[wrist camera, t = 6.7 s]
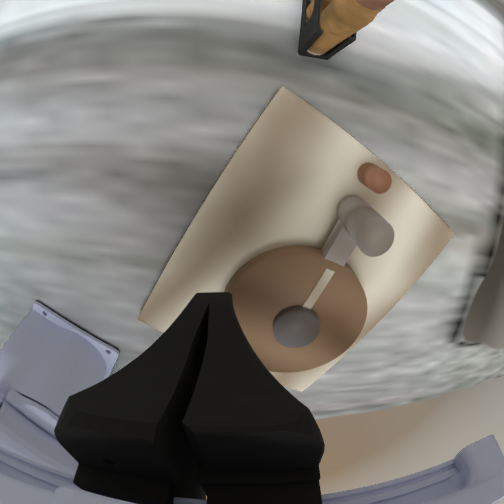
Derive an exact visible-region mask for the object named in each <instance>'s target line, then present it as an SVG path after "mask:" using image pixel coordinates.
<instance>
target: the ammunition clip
mask: <svg viewBox="0 0 504 504" xmlns="http://www.w3.org/2000/svg"><path fill="white" fill-rule="evenodd" d="M393 1H394V0H303V5H302V16H301V27H300V37H299V48H298V53H299V55H303V56H309V57H315V58H320V59H326V60H328V59H329V58H330V57H332V56H333V55H334V54H336V53H337V52H339V51H340V50H342V49H343V48H345V47H346V46H348V45H349V44H351V43H352V42H354V41H355V40H356V32H357V31H358V30H360V29H362V28H363V27H365V26H366V25H368V24H369V23H370V22H372V21H373V20H374V18H375V16H376V15H377V13H379V12H380V11H381V10H383V9H384V8H385V6H387V5H388V4H390V3H391V2H393Z"/></svg>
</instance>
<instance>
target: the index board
mask: <svg viewBox="0 0 504 504" xmlns="http://www.w3.org/2000/svg"><path fill="white" fill-rule="evenodd" d="M350 196H358V197H360V198H362V199H363V200H364V201H365V202H367V203H368V204H369V205H370V206H371V207H372V208H373V209H374V210H375V211H376V212H378V213H379V214H380V215H381V216H382V217H383V218H384V219H385V220H386V221H387V222H388V223H389V224H390V225H391V226H392V228H393V230H394V241H393V244H392V246H391V247H390V249H389V250H388V251H387V252H386V253H384V254H382V255H380V256H377V257H370V256H367V255H365V254H364V253H362V251H361V250H360V249H359V247H358V246H356V247H355V249H354V250H353V252H352V254H351V255H350V257H349V259H348V260H347V262H346V263H347V264H348V265H349V266H350V267H351V269H352V270H353V271H354V273H355V275H356V276H357V278H358V280H359V282H360V283H361V285H362V287H363V289H364V292H365V295H366V298H367V317H366V321H365V324H364V327H363V329H362V331H361V333H360V335H359V336H358V338H357V339H356V340H355V342H354V343H353V344H352V345H351V346H350V347H349V348H348V349H347V350H346V351H345V352H344V353H343V354H341V355H340V356H338V357H337V358H335V359H334V360H332V361H330V362H328V363H326V364H324V365H322V366H319V367H316V368H314V369H310V370H306V371H300V372H291V373H280V372H271V371H269V372H270V373H271V374H272V375H273V376H274V377H275V378H276V380H277V381H278V382H279V383H280V384H281V385H284V386H286V387H289V388H292V389H295V390H297V391H300V392H302V391H304V390H305V389H306V388H307V387H309V386H310V385H311V384H312V383H313V382H314V381H316V380H317V379H318V378H319V377H320V376H322V375H323V374H324V373H325V372H326V371H327V370H328V369H330V368H331V367H332V366H333V365H334V364H335V363H336V362H337V361H339V360H340V359H341V358H342V357H343V356H344V355H345V354H346V353H347V352H348V351H349V350H350V349H352V348H353V347H354V346H355V345H356V344H357V343H358V342H359V341H360V340H361V339H362V338H363V337H364V336H365V335H366V334H367V333H368V332H369V331H370V330H371V329H372V328H373V327H374V326H375V325H376V324H377V323H378V322H379V321H380V320H381V319H382V318H383V317H384V316H385V315H386V314H387V313H388V312H389V311H390V310H391V309H392V308H393V307H394V305H395V304H396V303H397V302H398V301H399V300H400V299H401V298H402V297H403V296H404V295H405V294H406V292H407V291H408V290H409V289H410V288H411V287H412V286H413V285H414V283H415V282H416V281H417V280H418V279H419V278H420V277H421V275H422V274H423V273H424V272H425V271H426V269H427V268H428V267H429V266H430V265H431V263H432V262H433V261H434V260H435V259H436V257H437V256H438V255H439V254H440V252H441V251H442V250H443V249H444V247H445V246H446V245H447V244H448V242H449V241H450V240H451V238H452V237H453V236H454V233H453V232H452V231H451V230H450V229H449V228H448V226H447V225H446V224H445V223H444V222H443V221H442V220H441V219H440V218H439V217H438V216H437V215H436V214H435V212H434V211H433V210H432V209H431V208H430V207H429V206H428V205H427V204H426V203H425V202H424V201H423V200H422V199H421V198H420V197H419V196H418V195H417V194H416V193H415V192H414V191H413V190H412V189H411V188H410V187H409V186H408V185H407V184H405V183H404V182H403V181H402V180H401V179H400V178H399V177H398V176H397V175H396V174H395V173H394V172H393V171H391V170H390V169H389V168H388V167H387V166H386V165H385V164H384V163H383V162H381V161H380V160H379V159H378V158H377V157H376V156H375V155H373V154H372V153H371V152H370V151H369V150H367V149H366V148H365V147H364V146H363V145H362V144H360V143H359V142H358V141H357V140H355V139H354V138H353V137H352V136H350V135H349V134H348V133H347V132H345V131H344V130H343V129H342V128H340V127H339V126H338V125H336V124H335V123H334V122H333V121H331V120H330V119H329V118H327V117H326V116H325V115H323V114H322V113H320V112H319V111H318V110H316V109H315V108H314V107H312V106H311V105H309V104H308V103H307V102H305V101H304V100H302V99H301V98H299V97H298V96H296V95H295V94H293V93H292V92H290V91H289V90H287V89H286V88H284V87H283V86H281V87H280V88H279V90H278V91H277V93H276V94H275V95H274V97H273V98H272V100H271V101H270V102H269V104H268V105H267V107H266V108H265V109H264V111H263V112H262V114H261V115H260V117H259V118H258V119H257V121H256V122H255V124H254V125H253V127H252V128H251V130H250V131H249V133H248V134H247V135H246V137H245V138H244V140H243V141H242V143H241V144H240V146H239V147H238V149H237V150H236V152H235V153H234V155H233V156H232V158H231V160H230V161H229V163H228V164H227V166H226V167H225V169H224V170H223V172H222V173H221V175H220V177H219V178H218V180H217V181H216V183H215V184H214V186H213V188H212V189H211V191H210V192H209V194H208V196H207V197H206V199H205V200H204V202H203V204H202V205H201V207H200V209H199V210H198V212H197V213H196V215H195V217H194V218H193V220H192V222H191V223H190V225H189V227H188V228H187V230H186V232H185V233H184V235H183V237H182V239H181V240H180V242H179V244H178V245H177V247H176V249H175V251H174V252H173V254H172V256H171V258H170V259H169V261H168V263H167V265H166V266H165V268H164V270H163V272H162V274H161V275H160V277H159V279H158V281H157V283H156V284H155V286H154V288H153V290H152V292H151V294H150V295H149V297H148V299H147V301H146V303H145V305H144V307H143V309H142V310H141V312H140V315H139V317H138V320H140V321H142V322H144V323H146V324H147V325H149V326H151V327H153V328H155V329H157V330H159V331H161V332H163V333H164V332H165V331H166V330H167V329H168V328H169V327H170V326H171V324H172V323H173V322H174V321H175V320H176V318H177V317H178V316H179V315H180V314H181V312H182V311H183V310H184V308H185V307H186V306H187V304H188V303H189V302H190V300H191V299H192V298H193V296H194V295H195V294H196V293H204V292H224V291H225V288H226V286H227V284H228V282H229V281H230V279H231V278H232V276H233V275H234V274H235V273H236V271H237V270H238V269H239V268H241V267H242V266H243V265H244V264H245V263H247V262H248V261H249V260H251V259H252V258H254V257H256V256H258V255H259V254H262V253H264V252H266V251H269V250H272V249H276V248H279V247H285V246H297V245H302V246H312V247H317V248H321V249H322V248H323V246H324V245H325V243H326V241H327V240H328V238H329V236H330V234H331V232H332V231H333V229H334V227H335V225H336V224H337V222H338V220H339V219H338V216H337V210H338V207H339V205H340V203H341V202H342V201H343V200H344V199H345V198H347V197H350Z"/></svg>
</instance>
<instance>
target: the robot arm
mask: <svg viewBox="0 0 504 504" xmlns="http://www.w3.org/2000/svg"><path fill="white" fill-rule="evenodd" d="M118 356H119V351H118V350H117V349H115V348H113V347H111V346H110V345H108V344H106V343H104V342H102V341H101V340H99V339H97V338H95V337H93V336H92V335H90V334H88V333H87V332H85V331H83V330H82V329H80V328H78V327H77V326H75V325H73V324H72V323H70V322H68V321H67V320H65V319H64V318H62V317H60V316H59V315H57V314H56V313H54V312H53V311H51V310H50V309H48V308H47V307H45V306H44V305H42V304H41V303H39V302H37V301H35V302H34V303H33V306H32V310H31V311H30V312H29V313H28V315H27V316H26V317H25V318H24V320H23V321H22V322H21V324H20V325H19V326H18V327H17V329H16V330H15V331H14V333H13V334H12V335H11V337H10V338H9V339H8V341H7V342H6V343H5V345H4V346H3V348H2V349H1V351H0V504H496V503H498V502H499V501H500V500H502V499H504V456H503V454H502V451H501V449H500V447H499V445H498V443H497V441H496V439H495V437H494V435H489V436H487V437H485V438H483V439H481V440H479V441H476V442H475V443H472V444H470V445H468V446H466V447H465V448H464V449H462V450H461V451H460V452H459V453H458V454H457V455H456V456H455V458H454V459H452V460H450V461H447V462H445V463H442V464H440V465H437V466H434V467H432V468H429V469H426V470H423V471H420V472H417V473H415V474H411V475H408V476H405V477H401V478H398V479H395V480H391V481H387V482H383V483H379V484H375V485H371V486H367V487H363V488H358V489H353V490H348V491H342V492H337V493H331V494H324V495H321V491H320V485H319V479H320V471H319V463H320V461H321V458H322V455H323V453H324V446H325V445H324V441H323V438H322V435H321V432H320V429H319V427H318V425H317V423H316V421H315V419H314V417H313V415H312V414H311V412H310V410H309V409H308V408H307V407H306V406H305V405H303V404H302V403H301V402H300V401H298V400H297V399H296V398H295V397H294V396H293V395H291V394H290V393H289V392H288V391H287V390H286V389H285V388H284V387H283V386H282V385H281V384H280V383H279V382H278V381H277V380H276V378H275V377H274V376H273V375H272V374H271V373H270V372H269V371H268V369H267V368H266V367H265V366H264V364H263V363H262V362H261V360H260V359H259V358H258V356H257V355H256V353H255V352H254V350H253V349H252V347H251V345H250V344H249V342H248V340H247V338H246V336H245V335H244V333H243V330H242V328H241V326H240V324H239V321H238V319H237V316H236V314H235V310H234V307H233V297H232V294H231V293H230V292H204V293H196V294H195V295H194V296H193V298H192V299H191V300H190V302H189V303H188V304H187V306H186V307H185V308H184V310H183V311H182V312H181V314H180V315H179V316H178V317H177V318H176V320H175V321H174V322H173V323H172V324H171V326H170V327H169V328H168V329H167V330H166V331H165V332H164V333H163V334H162V335H161V336H160V337H159V338H158V340H157V341H156V342H154V343H153V344H152V345H151V346H150V347H149V348H148V349H147V350H146V351H145V352H144V353H142V354H141V355H140V356H139V357H137V358H136V359H135V360H133V361H132V362H131V363H129V364H128V365H126V366H125V367H124V368H122V369H121V370H119V371H118V372H116V373H115V374H113V375H111V376H110V377H109V375H110V373H111V371H112V368H113V366H114V364H115V362H116V360H117V358H118ZM206 495H207V500H206Z"/></svg>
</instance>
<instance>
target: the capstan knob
mask: <svg viewBox="0 0 504 504" xmlns="http://www.w3.org/2000/svg"><path fill="white" fill-rule="evenodd" d="M337 216H338V219H339V220H338V222H337V224H336V225H335V227H334V229H333V231H332V232H331V234H330V236H329V238H328V240H327V241H326V243H325V245H324V246H323V248H322V249H321V248H317V247H312V246H302V245H297V246H285V247H279V248H276V249H272V250H269V251H266V252H264V253H262V254H259V255H258V256H256V257H254V258H252V259H251V260H249V261H248V262H247V263H245V264H244V265H243V266H242V267H241V268H239V269H238V270H237V271H236V273H235V274H234V275H233V276H232V278H231V279H230V281H229V282H228V284H227V286H226V288H225V291H224V292H230V293H231V294H232V297H233V307H234V310H235V314H236V316H237V319H238V321H239V324H240V326H241V328H242V330H243V333H244V335H245V336H246V338H247V340H248V342H249V344H250V345H251V347H252V349H253V350H254V352H255V353H256V355H257V356H258V358H259V359H260V360H261V362H262V363H263V364H264V366H265V367H266V368H267V369H268V371H271V372H280V373H291V372H300V371H306V370H310V369H314V368H316V367H319V366H322V365H324V364H326V363H328V362H330V361H332V360H334V359H335V358H337V357H338V356H340V355H341V354H343V353H344V352H345V351H346V350H347V349H348V348H349V347H350V346H351V345H352V344H353V343H354V342H355V340H356V339H357V338H358V336H359V335H360V333H361V331H362V329H363V327H364V324H365V321H366V317H367V298H366V295H365V292H364V289H363V287H362V285H361V283H360V282H359V280H358V278H357V276H356V275H355V273H354V271H353V270H352V269H351V267H350V266H349V265H348V264H347V263H346V262H347V260H348V259H349V257H350V255H351V254H352V252H353V250H354V249H355V247H356V246H358V247H359V249H360V250H361V251H362V253H364V254H365V255H367V256H370V257H377V256H380V255H382V254H384V253H386V252H387V251H388V250H389V249H390V247H391V246H392V244H393V241H394V230H393V228H392V226H391V225H390V224H389V223H388V222H387V221H386V220H385V219H384V218H383V217H382V216H381V215H380V214H379V213H378V212H376V211H375V210H374V209H373V208H372V207H371V206H370V205H369V204H368V203H367V202H365V201H364V200H363V199H362V198H360V197H358V196H350V197H347V198H345V199H344V200H343V201H342V202H341V203H340V205H339V207H338V210H337Z"/></svg>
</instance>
